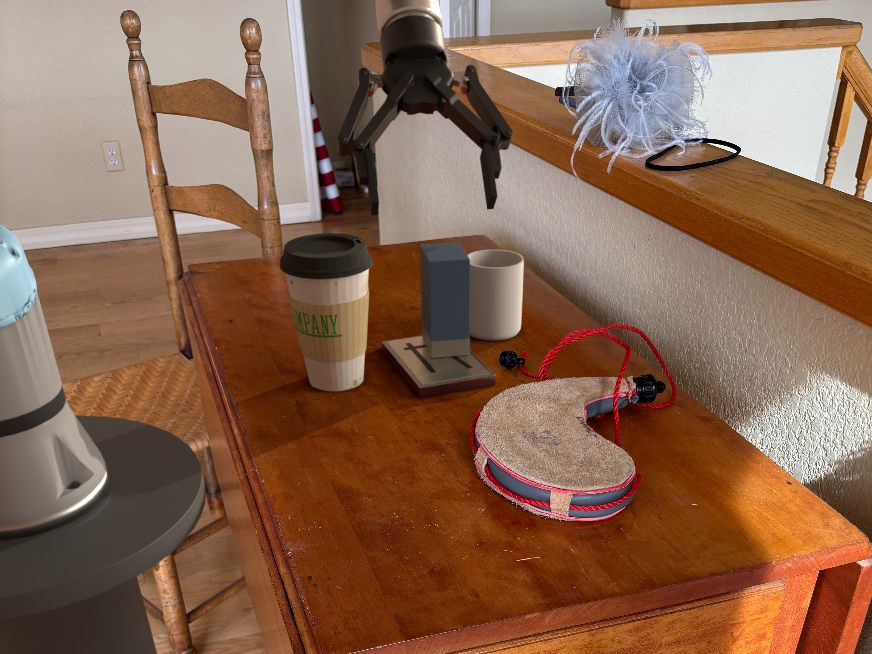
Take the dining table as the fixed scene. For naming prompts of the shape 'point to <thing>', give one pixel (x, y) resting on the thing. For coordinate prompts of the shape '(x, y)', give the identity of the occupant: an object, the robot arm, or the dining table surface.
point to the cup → (495, 294)
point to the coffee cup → (330, 305)
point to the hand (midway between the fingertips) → (434, 206)
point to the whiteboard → (436, 368)
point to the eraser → (445, 299)
